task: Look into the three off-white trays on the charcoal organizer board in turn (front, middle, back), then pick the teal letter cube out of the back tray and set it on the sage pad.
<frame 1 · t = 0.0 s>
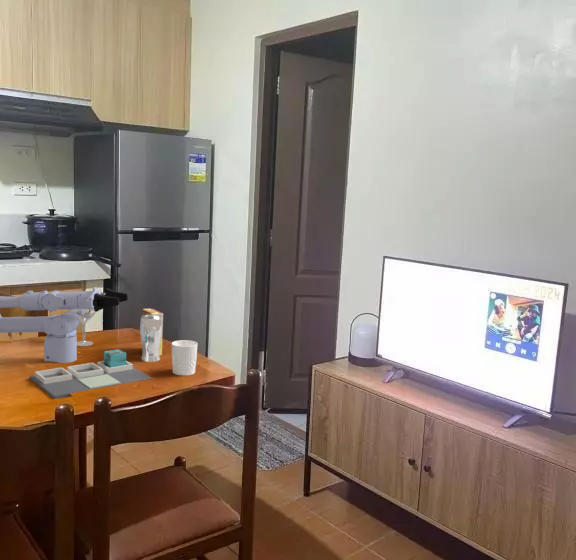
hand: (123, 299, 191), 22 cm above the table, tool horizontal, fingers open, 7 cm apart
teal letter cube: (115, 367, 189), point 1 cm above the table, touching organizer board
candy box: (151, 355, 209), on the table
wineglass: (84, 344, 218), on the table
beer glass: (150, 361, 201), on the table
white cup: (183, 375, 189), on the table
organizer board: (87, 376, 182), on the table
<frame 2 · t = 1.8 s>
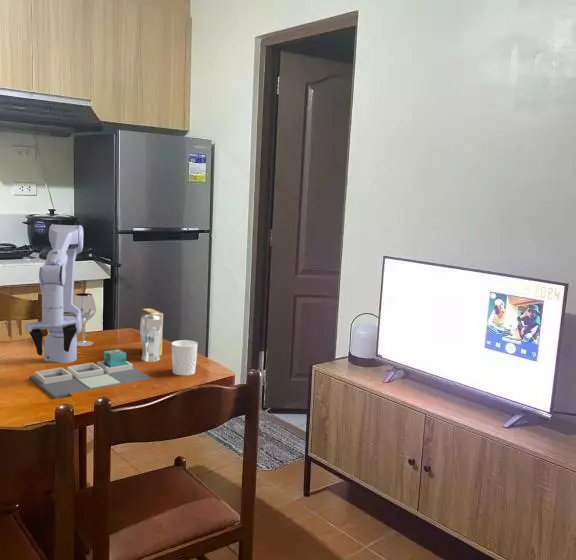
hand: (53, 352, 176), 8 cm above the table, tool pointing down, fingers open, 7 cm apart
nothing on the table moved.
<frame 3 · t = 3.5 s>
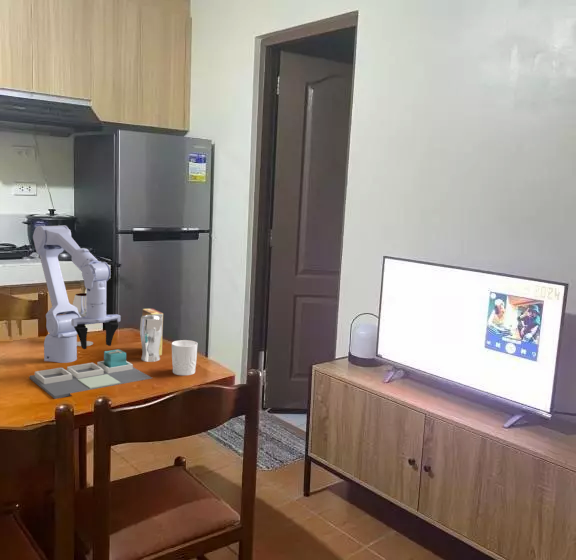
hand: (96, 346, 184), 8 cm above the table, tool pointing down, fingers open, 7 cm apart
nothing on the table moved.
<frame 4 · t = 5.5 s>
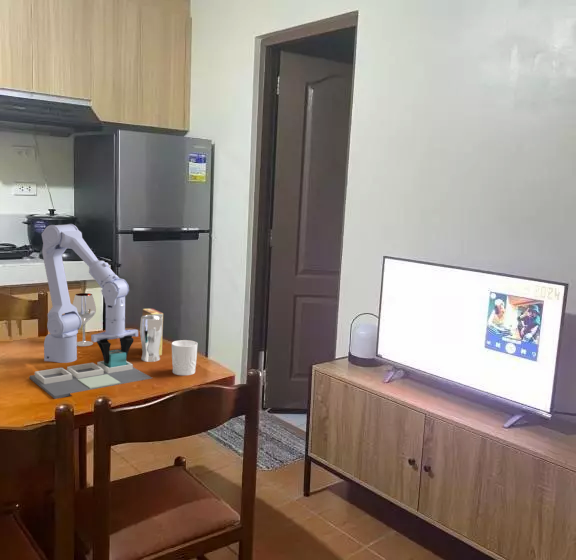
hand: (115, 361, 189), 3 cm above the table, tool pointing down, fingers closed on teal letter cube, 5 cm apart
teal letter cube: (115, 367, 189), point 1 cm above the table, touching gripper, organizer board
everything else where it was.
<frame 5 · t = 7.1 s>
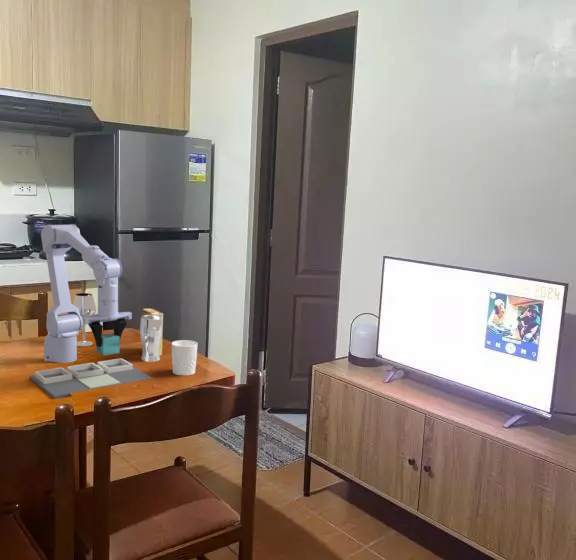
hand: (107, 344, 181), 10 cm above the table, tool pointing down, fingers closed on teal letter cube, 5 cm apart
teal letter cube: (107, 352, 182), point 8 cm above the table, touching gripper
everything else where it was.
when the fingers open (4 cm above the table, at t = 9.1 s): teal letter cube stays where it is, resting on organizer board.
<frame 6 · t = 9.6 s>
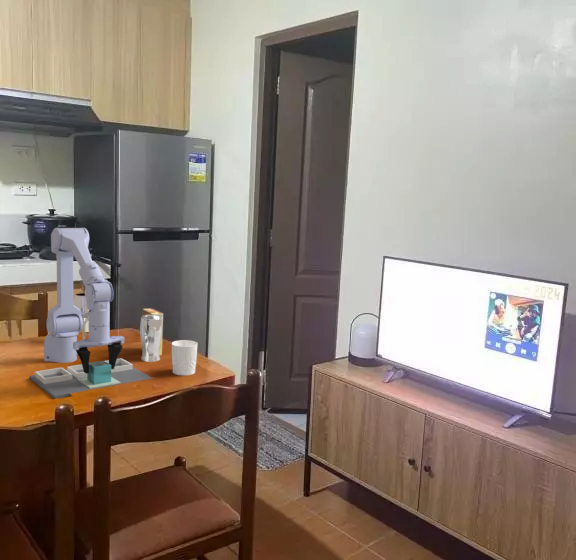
hand: (99, 370, 175), 4 cm above the table, tool pointing down, fingers open, 7 cm apart
teal letter cube: (99, 380, 176), point 1 cm above the table, touching organizer board
everything else where it was.
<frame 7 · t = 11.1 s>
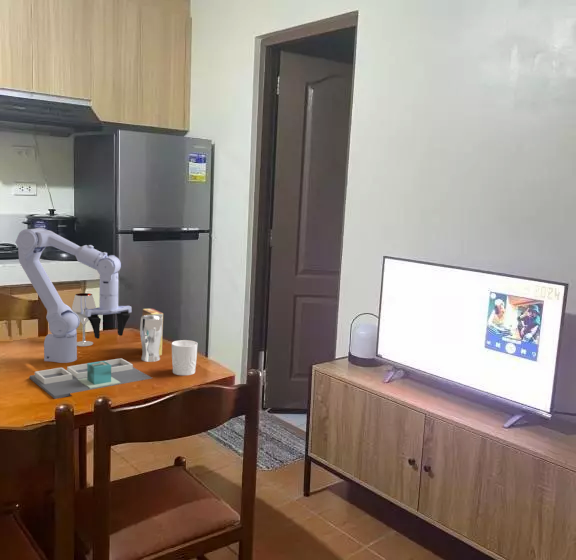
hand: (108, 336, 193), 9 cm above the table, tool pointing down, fingers open, 7 cm apart
nothing on the table moved.
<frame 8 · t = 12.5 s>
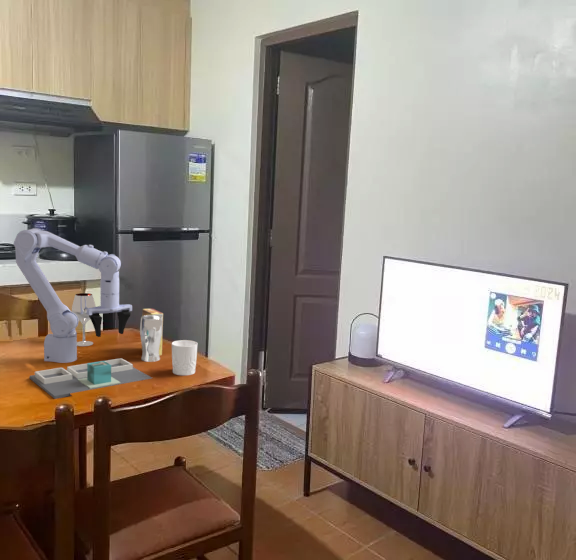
hand: (109, 334, 195), 9 cm above the table, tool pointing down, fingers open, 7 cm apart
nothing on the table moved.
at the end: teal letter cube 0.1 cm from the target spot, point 1.1 cm above the table; teal letter cube tilted 0°; the gripper is holding nothing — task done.
